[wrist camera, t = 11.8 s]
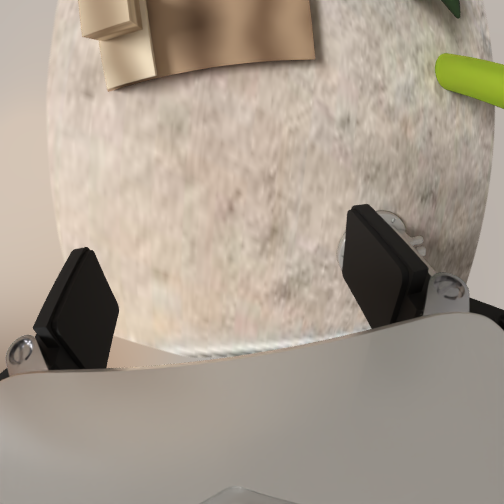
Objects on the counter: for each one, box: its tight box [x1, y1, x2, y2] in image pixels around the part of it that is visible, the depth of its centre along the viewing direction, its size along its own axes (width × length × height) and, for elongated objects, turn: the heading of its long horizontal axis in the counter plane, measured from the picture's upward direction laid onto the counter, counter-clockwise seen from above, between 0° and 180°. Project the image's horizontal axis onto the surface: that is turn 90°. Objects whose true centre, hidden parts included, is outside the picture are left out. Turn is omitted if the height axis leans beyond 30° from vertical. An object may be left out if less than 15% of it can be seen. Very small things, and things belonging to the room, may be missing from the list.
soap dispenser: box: [435, 53, 504, 109], centre depth 22 cm, size 6×7×20 cm
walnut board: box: [107, 0, 315, 92], centre depth 23 cm, size 22×12×2 cm, turn 96°
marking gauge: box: [78, 0, 157, 89], centre depth 18 cm, size 5×14×9 cm, turn 6°
